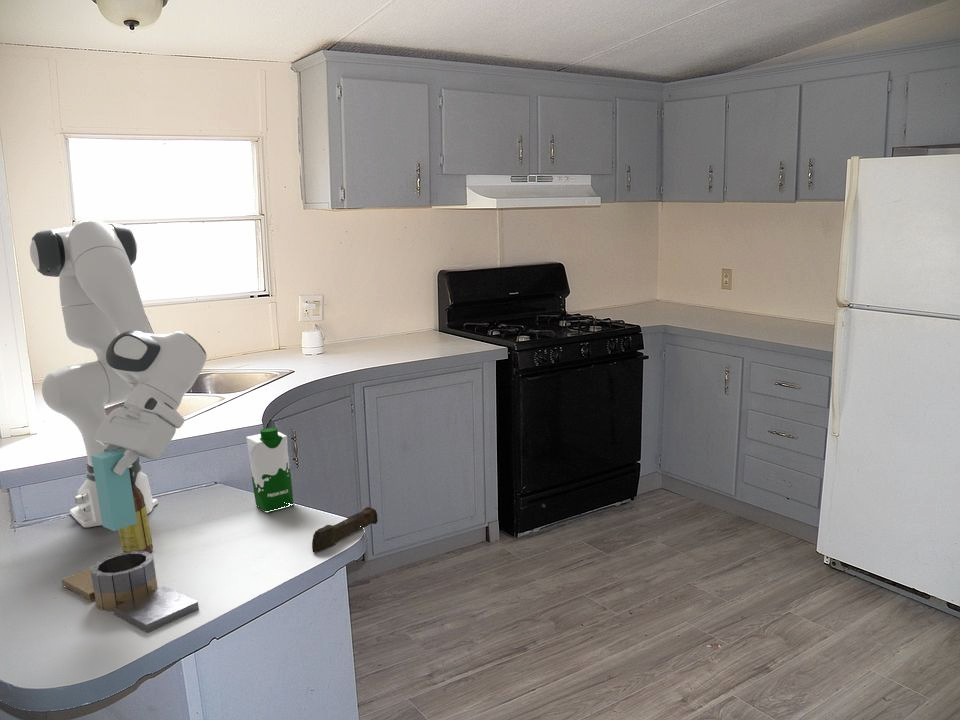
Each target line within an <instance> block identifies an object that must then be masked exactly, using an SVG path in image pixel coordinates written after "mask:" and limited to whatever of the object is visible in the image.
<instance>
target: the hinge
mask: <svg viewBox="0 0 960 720" xmlns="http://www.w3.org/2000/svg"><path fill="white" fill-rule="evenodd" d="M61 584H62V587H63V586H65V587H67V588H68V590H69V589H70V590H69V591H71V592H73V593H74V592H75V594H76V593H77V594H76V595H78V594H79V595H78V596H80V595H81V596H80V597H82V596H83V597H84V599H85V598H86V600H87V599H88V601H89V600H90V601H89V602H92V601H94V600H93V599H95V605H96V607H97V608H98V609H100V608H101V609H100V610H102V611H103V610H108V611H107V612H113V613H114V614H115V615H114V616H116V615H117V616H116V617H118V618H120V617H121V618H120V619H122V620H123V619H124V621H125V620H126V622H127V621H128V622H127V623H129V624H130V625H132V626H135V627H136V628H137V629H140V630H142V631H143V632H146V633H147V634H148V633H150V632H153V631H155V630H157V629H158V628H161V627H163V626H166V625H168V624H170V623H172V622H175V621H176V620H179V619H181V618H183V617H184V616H187V615H189V614H191V613H194V612H196V611H198V610H199V608H200V607H199V601H197V600H195V599H194V598H191V597H189V596H187V595H185V594H183V593H180V592H178V591H177V590H174V589H172V588H170V587H167V586H165V585H162V586H158V580H157V572H156V568H155V561H154V554H152V553H151V552H149V553H148V552H146V551H132V552H131V551H130V552H125V553H124V552H119V553H115V554H112V555H110V556H107V557H105V558H102V559H100V560H99V561H98V562H96V563H95V564H93V565H92V566H91V567H90V568H88V569H84V570H82V571H80V572H77V573H74V574H71V575H69V576H66V577H63V578H61ZM65 587H64V588H65ZM67 588H66V589H67ZM83 597H82V598H83ZM91 600H92V601H91ZM110 610H111V611H110Z"/></svg>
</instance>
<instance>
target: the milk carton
mask: <svg viewBox="0 0 960 720" xmlns="http://www.w3.org/2000/svg"><path fill="white" fill-rule="evenodd" d="M259 432H260V433H258V434H254V435H249V436H246V439H245V440H246V444H247V449H248V455H249V456H248V457H249V464H250V471H251V481H252V488H253V495H254V499H255V506H256V505H257V506H259V507H260V508H261V509H263V510H264V511H270V510H274V509H278V508H281V507H284V506H285V507H286V506H288V505H289V504H288V503H290V504H293V505H294V496H293V485H292V484H293V483H292V475H291V465H290V457H289V447H288V435H286V434H284V433H282V432H280V431H278V428H277V427H265V428H262V429H261V430H260V431H259ZM284 502H285V503H284ZM286 503H287V504H286ZM293 505H292V507H294V506H293ZM257 506H256V507H257ZM290 506H291V505H290ZM260 508H259V509H260ZM261 509H260V510H261ZM263 510H262V511H263ZM264 511H263V512H264Z"/></svg>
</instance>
